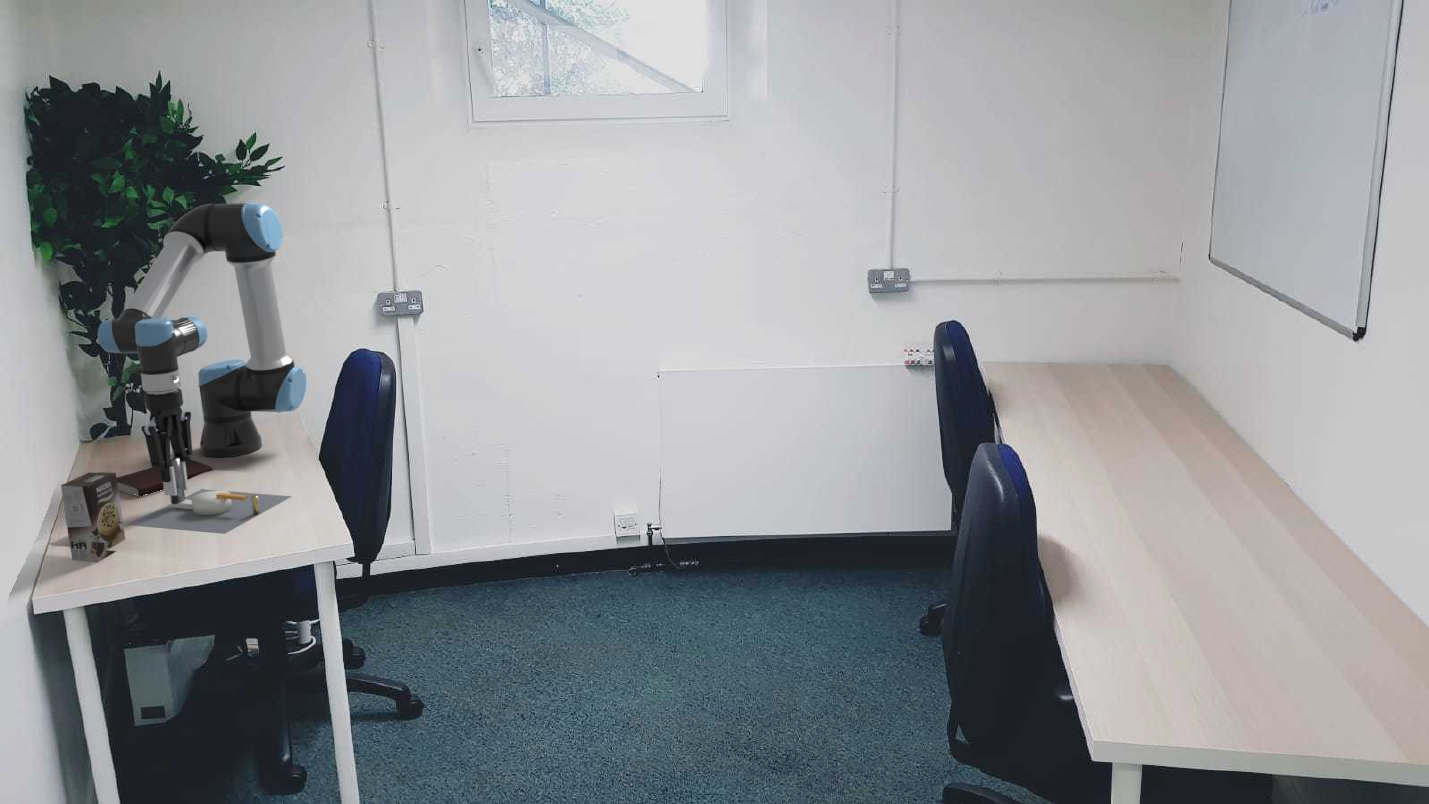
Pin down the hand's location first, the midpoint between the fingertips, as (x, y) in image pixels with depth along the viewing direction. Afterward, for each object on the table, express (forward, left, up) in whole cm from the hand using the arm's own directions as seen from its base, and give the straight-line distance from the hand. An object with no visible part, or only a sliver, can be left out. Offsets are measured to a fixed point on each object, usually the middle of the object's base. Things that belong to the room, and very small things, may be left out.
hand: (176, 491), depth 269 cm
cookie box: (+24, 0, -5) cm, 25 cm away
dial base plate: (0, +9, -5) cm, 10 cm away
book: (-18, -19, -6) cm, 27 cm away
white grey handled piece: (0, +9, -4) cm, 10 cm away
